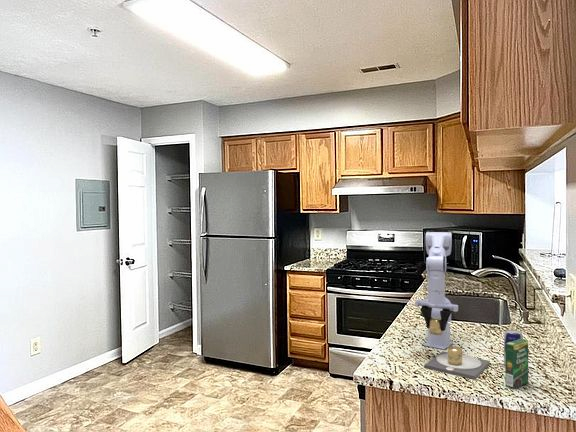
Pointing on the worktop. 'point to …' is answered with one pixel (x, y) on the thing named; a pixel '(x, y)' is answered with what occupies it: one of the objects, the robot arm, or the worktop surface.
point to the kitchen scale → (468, 368)
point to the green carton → (516, 363)
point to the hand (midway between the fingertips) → (436, 329)
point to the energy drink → (510, 339)
